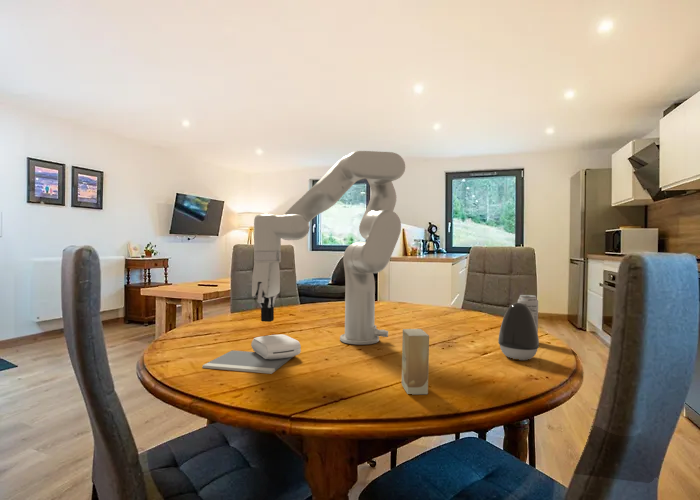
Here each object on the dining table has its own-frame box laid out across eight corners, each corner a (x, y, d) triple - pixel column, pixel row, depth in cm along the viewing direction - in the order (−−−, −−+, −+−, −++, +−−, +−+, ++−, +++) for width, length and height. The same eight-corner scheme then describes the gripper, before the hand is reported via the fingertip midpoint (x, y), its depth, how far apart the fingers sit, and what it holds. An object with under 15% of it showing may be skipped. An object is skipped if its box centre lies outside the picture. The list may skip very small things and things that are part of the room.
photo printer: (285, 332, 110) (304, 341, 100) (285, 347, 110) (304, 357, 100) (251, 336, 105) (266, 346, 94) (250, 351, 105) (266, 363, 94)
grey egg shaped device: (544, 357, 105) (544, 302, 105) (531, 365, 97) (532, 306, 97) (506, 350, 112) (507, 299, 112) (492, 357, 104) (493, 302, 104)
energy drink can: (538, 341, 123) (539, 295, 123) (536, 345, 118) (537, 297, 118) (518, 338, 127) (519, 294, 126) (515, 342, 121) (516, 295, 121)
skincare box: (400, 384, 83) (401, 328, 83) (420, 383, 83) (421, 328, 83) (407, 395, 76) (408, 334, 76) (429, 395, 77) (429, 334, 76)
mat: (292, 357, 102) (292, 354, 102) (271, 373, 88) (271, 371, 88) (231, 352, 106) (231, 350, 106) (202, 367, 92) (202, 365, 92)
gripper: (265, 256, 117) (265, 316, 117) (243, 258, 102) (243, 325, 102) (288, 256, 115) (288, 316, 116) (269, 258, 101) (269, 327, 101)
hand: (267, 320), depth 109 cm, fingers closed
